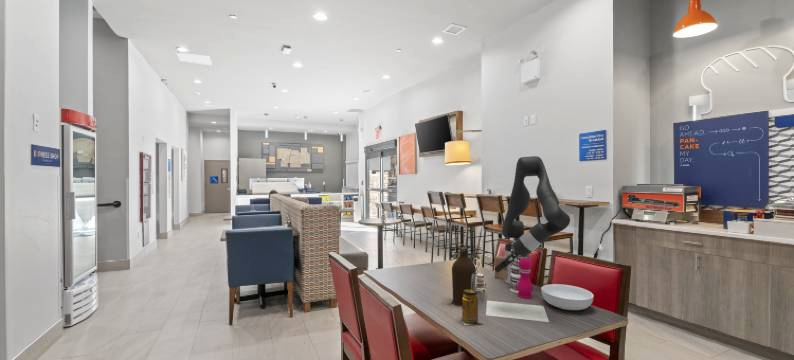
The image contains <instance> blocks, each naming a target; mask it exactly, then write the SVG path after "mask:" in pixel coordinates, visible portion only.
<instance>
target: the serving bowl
mask: <svg viewBox="0 0 794 360" xmlns="http://www.w3.org/2000/svg"><path fill="white" fill-rule="evenodd" d="M540 289H541V290H540V291H541V296H542V297H543V299H544V300H545V301H546V302H547V303H548V304H550V306H553V307H555V308H558V309H561V310H565V311H580V310H585V309H587V308H589V307H590V306H591V305H592V304H593V301H594V298H595V297H594V296H595V295H594V294H593V293H592V292H591V291H589V290H587V289H586V288H582V287H579V286H575V285H569V284H560V283H559V284H557V283H552V284H545V285H542V286H541V288H540Z"/></svg>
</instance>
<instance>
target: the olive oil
mask: <svg viewBox="0 0 794 360" xmlns="http://www.w3.org/2000/svg"><path fill="white" fill-rule="evenodd" d="M459 250H460V252H459V254H460V255H459V256H458V257H457V259H456V260H455V261H454V262H453V263H452V266H451V277H452V280H451V281H452V282H451V283H452V284H451V285H452V286H451V287H452V304H454V305H455V306H458V307H462V298H463V297H464V296H463V295H464V293H463V292H464V290H467V289H471V290H475V291H476V277H477V276H476V275H477V268H476V265H475V263H474V262H473V261H472V259H471V258H470V257H469V255H468V254H469V251H468V247H465V246H463V247H460V249H459Z"/></svg>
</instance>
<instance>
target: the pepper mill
mask: <svg viewBox="0 0 794 360" xmlns="http://www.w3.org/2000/svg"><path fill="white" fill-rule="evenodd" d="M518 265H519V267H520V270H519V271H520V274H521V275H520V280H519V282H518V284H517V290H518V291H519V292H518V293H517V297H518V298H520V299H524V300H530V299H533V298H532V297H533V295H532V292H533V291H534V287H533V283H532V281H531V278H530V273H531V272H532V271H531V268H532V266H533V263H532V261H531V260H530V259H529V258H528V259H527V257H526V258H522V259H520V260H519V262H518Z"/></svg>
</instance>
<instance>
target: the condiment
mask: <svg viewBox="0 0 794 360" xmlns="http://www.w3.org/2000/svg"><path fill="white" fill-rule="evenodd" d="M463 293H464V295H463V296H464V297H463V298H462V306H461V309H462V311H461V312H462V313H461V315H462V316H461V317H462V319H460V321H461V323H462V324H463V325H464V326H476V325H478V326H479V325H480V326H481V325H483V323H481V322H479V321H478V320H479V318H478V317H479V315H478V314H479V298H478V292H477V291H476V289H475V290H471V289H467V290H464V292H463Z"/></svg>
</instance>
